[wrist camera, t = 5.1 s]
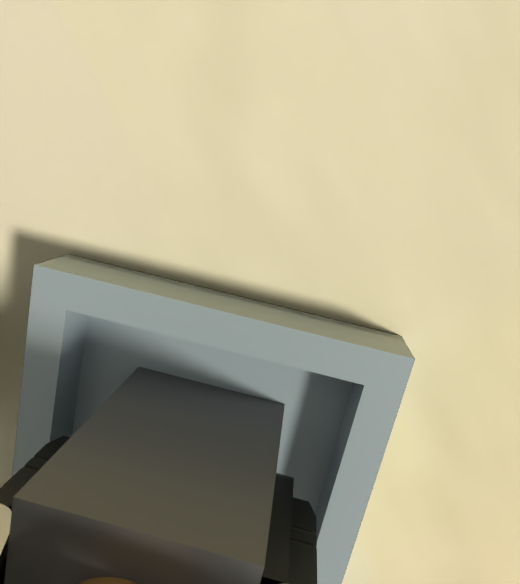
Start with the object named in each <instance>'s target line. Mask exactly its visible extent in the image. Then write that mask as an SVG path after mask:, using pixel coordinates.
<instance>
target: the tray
mask: <svg viewBox="0 0 520 584" xmlns="http://www.w3.org/2000/svg"><path fill="white" fill-rule="evenodd" d="M414 361H415V358H414V356H413V355H412V353H411V351H410V350H409V348H408V346H407V345H406V343H405V341H404V340H403V338H402V336H399V335H395V334H391V333H387V332H383V331H378V330H374V329H370V328H366V327H362V326H358V325H354V324H350V323H346V322H342V321H338V320H334V319H330V318H326V317H321V316H317V315H313V314H309V313H305V312H301V311H297V310H293V309H289V308H285V307H281V306H277V305H273V304H269V303H264V302H260V301H256V300H252V299H248V298H244V297H240V296H236V295H232V294H228V293H224V292H220V291H216V290H211V289H207V288H203V287H199V286H195V285H191V284H187V283H183V282H179V281H175V280H171V279H167V278H163V277H159V276H154V275H150V274H146V273H142V272H138V271H134V270H130V269H126V268H122V267H118V266H114V265H110V264H106V263H101V262H97V261H93V260H89V259H85V258H81V257H77V256H73V255H66V256H62V257H59V258H55V259H52V260H48V261H45V262H41V263H38V264H34V269H33V278H32V288H31V298H30V307H29V317H28V326H27V336H26V346H25V355H24V365H23V375H22V384H21V394H20V404H19V413H18V423H17V433H16V442H15V452H14V462H13V471H12V477H13V476H14V475H15V474H16V473H17V472H18V471H19V470H20V469H21V468H22V467H24V465H25V464H26V463H27V462H28V461H29V460H30V459H31V458H34V455H35V454H36V453H37V452H38V451H39V450H40V449H41V448H42V447H44V446H45V445H46V444H47V443H49V442H51V441H53V440H55V439H57V438H59V437H62V436H68V437H71V436H72V435H73V434H74V433H75V432H76V431H77V430H78V429H79V428H80V427H81V426H82V425H83V424H84V423H85V422H86V421H87V420H88V419H89V418H90V417H91V416H92V415H93V413H94V412H95V411H96V410H97V409H98V408H99V407H100V406H101V405H102V404H103V403H104V402H105V401H106V400H107V399H108V398H109V397H110V396H111V395H112V394H113V393H114V392H115V391H116V390H117V389H118V387H119V386H120V385H121V384H122V383H123V382H124V381H125V380H126V379H127V378H128V377H129V376H130V375H131V374H132V373H133V372H134V371H135V370H136V369H137V368H138V367H143V368H147V369H151V370H155V371H159V372H162V373H166V374H170V375H174V376H178V377H182V378H186V379H190V380H194V381H197V382H201V383H205V384H209V385H213V386H217V387H221V388H225V389H229V390H232V391H236V392H240V393H244V394H248V395H252V396H256V397H260V398H264V399H267V400H271V401H275V402H279V403H283V404H285V406H284V414H283V422H282V431H281V439H280V447H279V455H278V463H277V471H276V473H279V474H283V475H286V476H290V477H294V486H293V497H294V498H298V499H301V500H305V501H309V503H310V505H311V507H312V509H313V511H314V513H315V515H316V521H317V533H316V535H317V547H316V548H317V584H341V583H342V580H343V577H344V574H345V571H346V568H347V565H348V562H349V559H350V556H351V553H352V550H353V547H354V544H355V541H356V538H357V535H358V532H359V529H360V525H361V522H362V519H363V516H364V513H365V510H366V507H367V504H368V501H369V498H370V495H371V492H372V489H373V486H374V483H375V480H376V477H377V474H378V471H379V467H380V464H381V461H382V458H383V455H384V452H385V449H386V446H387V443H388V440H389V437H390V434H391V431H392V428H393V425H394V422H395V419H396V416H397V413H398V409H399V406H400V403H401V400H402V397H403V394H404V391H405V388H406V385H407V382H408V379H409V376H410V373H411V370H412V367H413V364H414Z"/></svg>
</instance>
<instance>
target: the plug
mask: <svg viewBox="0 0 520 584" xmlns="http://www.w3.org/2000/svg"><path fill="white" fill-rule="evenodd" d="M284 406H285V404H283V403H279V402H275V401H271V400H267V399H264V398H260V397H256V396H252V395H248V394H244V393H240V392H236V391H232V390H229V389H225V388H221V387H217V386H213V385H209V384H205V383H201V382H197V381H194V380H190V379H186V378H182V377H178V376H174V375H170V374H166V373H162V372H159V371H155V370H151V369H147V368H143V367H138V368H137V369H136V370H135V371H134V372H133V373H132V374H131V375H130V376H129V377H128V378H127V379H126V380H125V381H124V382H123V383H122V384H121V385H120V386H119V387H118V389H117V390H116V391H115V392H114V393H113V394H112V395H111V396H110V397H109V398H108V399H107V400H106V401H105V402H104V403H103V404H102V405H101V406H100V407H99V408H98V409H97V410H96V411H95V412H94V413H93V415H92V416H91V417H90V418H89V419H88V420H87V421H86V422H85V423H84V424H83V425H82V426H81V427H80V428H79V429H78V430H77V431H76V432H75V433H74V434H73V435H72V436H71V437H70V438H69V439H68V441H67V442H66V443H65V444H64V445H63V446H62V447H61V448H60V449H59V450H58V451H57V452H56V453H55V454H54V455H53V456H52V457H51V458H50V459H49V460H48V461H47V462H46V463H45V464H44V465H43V467H42V468H41V469H40V470H39V471H38V472H37V473H36V474H35V475H34V476H33V477H32V478H31V479H30V480H29V481H28V482H27V483H26V484H25V485H24V486H23V487H22V488H21V489H20V490H19V491H18V493H17V494H16V495H15V496H14V497H13V505H12V514H11V524H10V533H9V543H8V552H7V562H6V571H5V581H4V584H260V582H261V578H262V574H263V571H264V567H265V559H266V551H267V543H268V535H269V527H270V519H271V511H272V503H273V495H274V487H275V479H276V471H277V463H278V455H279V447H280V439H281V431H282V422H283V414H284Z"/></svg>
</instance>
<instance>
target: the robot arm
mask: <svg viewBox="0 0 520 584" xmlns="http://www.w3.org/2000/svg"><path fill="white" fill-rule="evenodd" d="M69 438H70V437H68V436H62V437H59V438H57V439H55V440H53V441H51V442H49V443H47V444H46V445H45V446H44V447H42V448H41V449H40V450H39V451H38V452H37V453H36V454H35V455H34V458H31V459H30V460H29V461H28V462H27V463H26V464H25V465H24V467H22V468H21V469H20V470H19V471H18V472H17V473H16V474H15V475H14V476H13V477H12V478H11V479H10V480H9V481H7V482H6V483H5V484H4V485H3V486H2V487H1V488H0V584H4V581H5V571H6V562H7V552H8V543H9V533H10V524H11V514H12V505H13V497H14V496H15V495H16V494H17V493H18V491H19V490H20V489H21V488H22V487H23V486H24V485H25V484H26V483H27V482H28V481H29V480H30V479H31V478H32V477H33V476H34V475H35V474H36V473H37V472H38V471H39V470H40V469H41V468H42V467H43V465H44V464H45V463H46V462H47V461H48V460H49V459H50V458H51V457H52V456H53V455H54V454H55V453H56V452H57V451H58V450H59V449H60V448H61V447H62V446H63V445H64V444H65V443H66V442H67V441H68V439H69ZM293 486H294V477H290V476H286V475H283V474H279V473H276V479H275V487H274V495H273V503H272V511H271V519H270V527H269V535H268V543H267V551H266V559H265V567H264V571H263V574H262V578H261V582H260V584H317V548H316V547H317V535H316V533H317V521H316V515H315V513H314V511H313V509H312V507H311V505H310V503H309V501H305V500H301V499H298V498H294V497H293Z"/></svg>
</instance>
